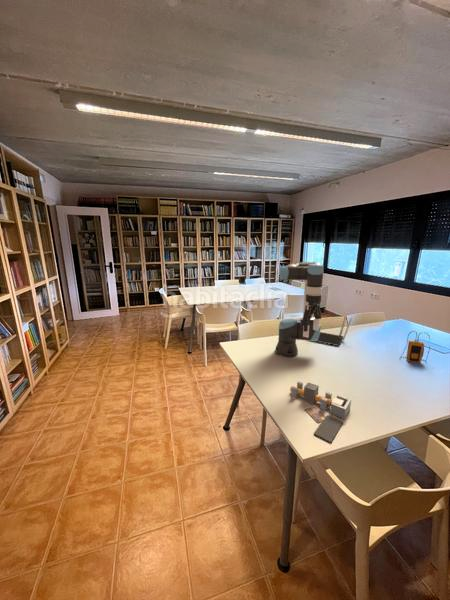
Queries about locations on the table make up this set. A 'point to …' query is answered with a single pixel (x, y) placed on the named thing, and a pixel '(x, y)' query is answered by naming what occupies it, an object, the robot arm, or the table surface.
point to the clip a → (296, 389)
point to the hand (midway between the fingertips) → (310, 333)
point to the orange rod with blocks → (316, 395)
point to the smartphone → (328, 429)
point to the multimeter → (415, 350)
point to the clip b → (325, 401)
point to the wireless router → (334, 338)
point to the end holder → (341, 408)
